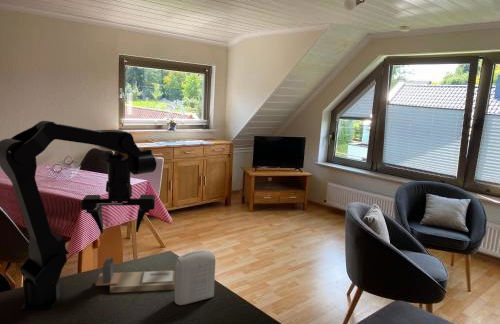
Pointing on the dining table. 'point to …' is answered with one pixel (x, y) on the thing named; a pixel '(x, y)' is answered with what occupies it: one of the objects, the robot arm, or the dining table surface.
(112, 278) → the stub
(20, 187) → the robot arm
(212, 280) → the photo printer
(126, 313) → the dining table surface
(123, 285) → the ticket board
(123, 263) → the dining table surface
